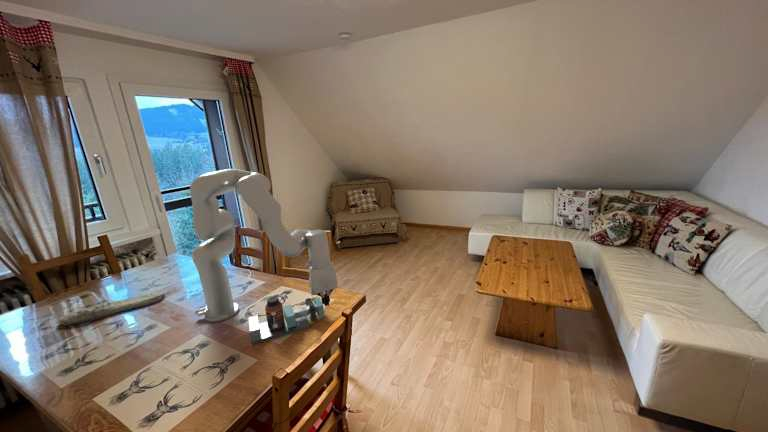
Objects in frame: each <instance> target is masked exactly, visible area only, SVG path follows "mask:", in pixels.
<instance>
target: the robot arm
mask: <svg viewBox="0 0 768 432" xmlns="http://www.w3.org/2000/svg"><path fill="white" fill-rule="evenodd" d="M270 189H271V181H270V180H269V178H268V177H267V176H266V175H264V174H262V173H260V172H255V171H254V172H253V171H247V170H242V169H237V168H227V169H221V170H215V171H212V172H211V171H210V172H207V173H203V174H201V175H198V176H197V177H196V178H194V179H193V180H192V181H191V184H190V187H189V193H190V199H191V203H192V204H191V205H192V218H193V230H194V235H195V236H196V237H197V238H198V239H199V240H202V241H203V242H201V243H200V244H198V245H196V247H194V249H193V250H192V252H191V260H192V261H193V264H194V265H195V268H196V270H197V273H198V276H199V279H200V284H201V288H202V292H203V295H204V299H205V304H206V306H203V307H201V308H196V309H194V314H195V315H197V316H198V317H200V316H204V319H205V321H207V322H211V323H212V322H213V323H218V322H223V321H226V320H228V319H229V318H232V317H234V316H235V315H236V314H237V313H238V312H239V310H240V306H239V304H238V303H236V302H235V301H234V298H233V293H232V288H231V284H230V280H229V274H228V270H227V268H226V267H225V266H224V264H223V263H222V260H224V259H225V258H226V257H228V256H229V255H230V254H231V253H232V252H233V251H234V249H235V246H236V237H235V236H236V235H235V233H236V232H235V221H234V220H235V219H234V218H233V216H232V214H231V213H230V212H229V211H227V210H226V209H223V208H220V204H219V201H218V199H217V196H221V195H225V194H229V193H232V192H234V191H236V193H237V195H238V196H239V197H240V198H241V200H243V201H244V203H246V205H247V206H248V207H250V209H251V210H252V211H253V212H254V213H255V214H256V216H258V218H260V220H261V221H262V223H263V228H264V231H265V233H266V235H267V238H268V239H269V241H270V242H271V244H272V245H273V246H274V247H275V248H276V249H277V250H278V251H279V252H280V253H281V254H283V256H286V257H288V258H295V257H298V256H299V255H300V254H301V253H303V251H304V250H306V249H307V250H308V255H309V259H308V260H309V261H307V262H306V263H305V264H306V267H308V281H309V287H310V291H309V293H310V295H311V296H318V297H319V298H321V299H320V300H321V302H322V304H323V306H324V307H329V306H330V303H331V298H330V296H331V293H332V292H333V291H334V290H336V289H338V287H339V285H338V283H339V282H338V278H337V273H336V268H335V265H334V263H333V262H332V261H331V255H330V249H329V240H328V235H327V232H326V231H325V230H323V229H314V230H312V229H305V228H304V229H303V228H299V229H295V230H294V231H292V233H290V232H288V230H287V229H286V227H285V225H284V224H283V222H282V216H281V215H282V214H281V213H282V205H281V204H280V202H279V201H278V200H277V199H276V198H275V197H274V196H273V195H272V194H271V193H270V192H269V191H270Z"/></svg>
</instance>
